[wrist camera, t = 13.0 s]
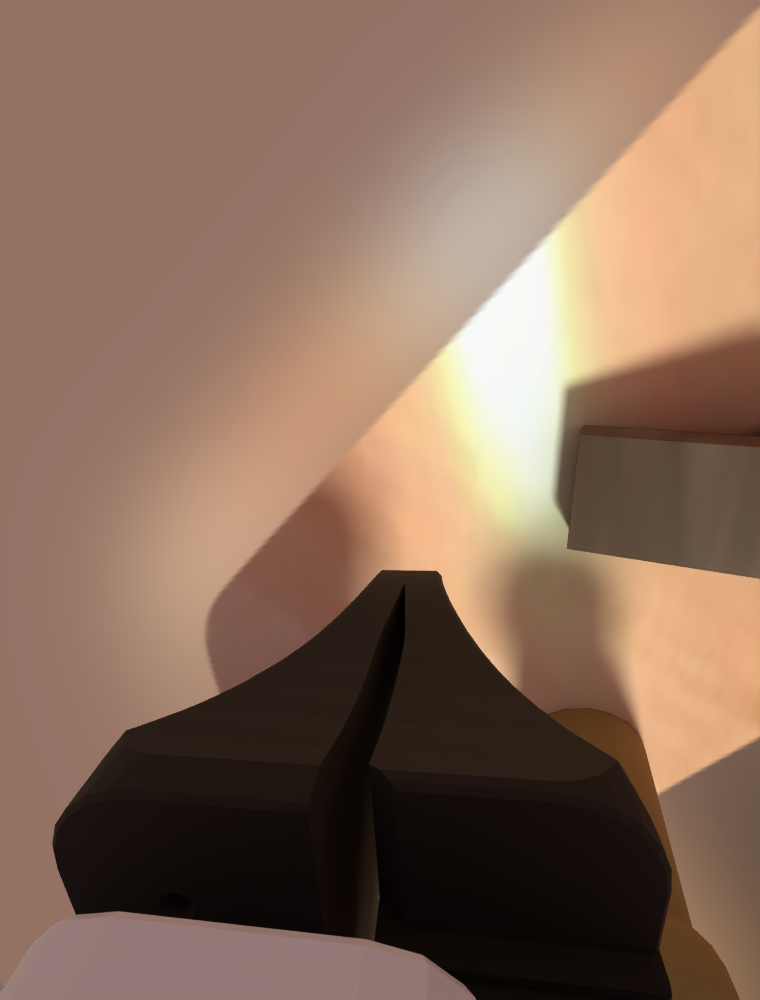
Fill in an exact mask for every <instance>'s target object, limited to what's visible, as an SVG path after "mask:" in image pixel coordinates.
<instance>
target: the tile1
mask: <svg viewBox="0 0 760 1000" xmlns="http://www.w3.org/2000/svg"><path fill="white" fill-rule="evenodd" d="M567 549H572V550H579V551H585V552H591V553H598V554H604V555H611V556H617V557H624V558H630V559H636V560H643V561H649V562H656V563H662V564H669V565H675V566H681V567H688V568H694V569H701V570H707V571H714V572H720V573H726V574H733V575H739V576H746V577H752V578H759V579H760V437H759V436H743V435H727V434H711V433H696V432H680V431H664V430H648V429H632V428H616V427H601V426H585V425H584V426H583V428H582V431H581V433H580V437H579V446H578V455H577V464H576V472H575V481H574V490H573V499H572V508H571V517H570V525H569V534H568V543H567Z"/></svg>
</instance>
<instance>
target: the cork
mask: <svg viewBox="0 0 760 1000" xmlns="http://www.w3.org/2000/svg"><path fill="white" fill-rule="evenodd" d="M548 715H549V716H550V717H551V718H553V719H554V720H555V721H557V722H558V723H559V724H561V725H562V726H563V727H565V728H566V729H568V730H569V731H571V732H572V733H574V734H576V735H577V736H579V737H581V738H582V739H584V740H585V741H587V742H589V743H590V744H592V745H593V746H595V747H597V748H598V749H600V750H602V751H603V752H605V753H606V754H608V755H610V756H611V757H613V758H615V759H616V760H617V761H618V762H619V763H620V764H621V766H622V768H623V769H624V771H625V773H626V774H627V776H628V778H629V779H630V781H631V783H632V784H633V786H634V788H635V790H636V791H637V793H638V795H639V797H640V799H641V800H642V802H643V804H644V806H645V808H646V810H647V811H648V813H649V815H650V817H651V819H652V821H653V823H654V825H655V827H656V830H657V832H658V834H659V836H660V839H661V841H662V844H663V846H664V849H665V852H666V855H667V859H668V861H669V864H670V866H671V869H672V892H671V897H670V902H669V906H668V911H667V915H666V920H665V924H664V929H663V933H662V938H661V943H660V947H659V950H660V953H661V956H662V959H663V962H664V966H665V969H666V972H667V975H668V978H669V981H670V984H671V990H672V999H671V1000H740V999H739V997H738V994H737V992H736V990H735V987H734V985H733V983H732V981H731V978H730V976H729V973H728V971H727V969H726V967H725V965H724V964H723V962H722V961H721V959H720V958H719V956H718V955H717V953H716V951H715V950H714V948H713V947H712V945H710V944H709V943H708V942H707V941H706V940H705V939H704V938H703V937H702V936H701V935H700V934H699V933H698V932H697V931H696V930H694V929H693V928H692V924H691V921H690V917H689V913H688V909H687V905H686V902H685V898H684V894H683V890H682V887H681V883H680V879H679V875H678V872H677V868H676V864H675V860H674V856H673V853H672V849H671V845H670V842H669V838H668V834H667V830H666V827H665V822H664V819H663V815H662V811H661V807H660V804H659V800H658V796H657V792H656V788H655V785H654V781H653V777H652V773H651V770H650V766H649V762H648V758H647V755H646V751H645V748H644V746H643V743H642V741H641V738H640V736H639V735H638V734H637V732H636V731H635V730H634V729H633V728H632V727H631V726H630V725H629V724H628V723H627V722H625V721H623V720H621V719H619V718H617V717H615V716H614V715H612V714H610V713H605V712H601V711H597V710H592V709H567V710H563V711H559V712H556V713H552V714H548Z"/></svg>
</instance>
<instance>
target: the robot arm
mask: <svg viewBox="0 0 760 1000" xmlns="http://www.w3.org/2000/svg"><path fill="white" fill-rule="evenodd" d="M52 844H53V850H54V854H55V859H56V863H57V867H58V871H59V873H60V876H61V878H62V881H63V883H64V886H65V888H66V891H67V893H68V896H69V898H70V901H71V903H72V906H73V908H74V911H75V914H76V915H73V916H71V917H68V918H65V919H62V920H59V921H58V922H57V923H56V924H55V925H53V926H52V927H51V928H50V929H49V930H48V931H46V932H45V933H44V934H43V935H42V936H41V937H39V938H38V939H37V940H36V941H35V942H34V943H33V944H32V946H31V947H30V949H29V950H28V952H27V953H26V955H25V956H24V958H23V959H22V961H21V962H20V964H19V966H18V967H17V968H16V970H15V972H14V973H13V975H12V976H11V978H10V979H9V981H8V982H7V984H6V985H5V984H0V1000H671V999H672V990H671V984H670V981H669V978H668V975H667V972H666V969H665V966H664V962H663V959H662V956H661V953H660V950H659V947H660V943H661V938H662V933H663V929H664V924H665V920H666V915H667V911H668V906H669V902H670V897H671V892H672V869H671V866H670V864H669V861H668V859H667V855H666V852H665V849H664V846H663V844H662V841H661V839H660V836H659V834H658V832H657V830H656V827H655V825H654V823H653V821H652V819H651V817H650V815H649V813H648V811H647V810H646V808H645V806H644V804H643V802H642V800H641V799H640V797H639V795H638V793H637V791H636V790H635V788H634V786H633V784H632V783H631V781H630V779H629V778H628V776H627V774H626V773H625V771H624V769H623V768H622V766H621V764H620V763H619V762H618V761H617V760H616V759H615V758H613V757H611V756H610V755H608V754H606V753H605V752H603V751H602V750H600V749H598V748H597V747H595V746H593V745H592V744H590V743H589V742H587V741H585V740H584V739H582V738H581V737H579V736H577V735H576V734H574V733H572V732H571V731H569V730H568V729H566V728H565V727H563V726H562V725H561V724H559V723H558V722H557V721H555V720H554V719H553V718H551V717H550V716H549V715H547V714H546V713H545V712H543V711H542V710H540V709H539V708H538V707H537V706H536V705H534V704H533V703H532V702H531V701H530V700H529V699H528V698H526V697H525V696H524V695H523V694H522V693H521V692H520V691H519V690H517V689H516V688H515V687H514V686H513V685H512V684H511V683H510V682H509V681H508V680H507V679H506V678H505V677H504V676H503V675H502V674H501V673H500V672H499V671H498V669H497V668H496V667H495V666H494V665H493V664H492V663H491V662H490V660H489V659H488V658H487V657H486V656H485V654H484V653H483V652H482V651H481V649H480V648H479V647H478V645H477V644H476V643H475V641H474V640H473V638H472V637H471V635H470V634H469V633H468V631H467V630H466V628H465V626H464V625H463V623H462V622H461V620H460V618H459V616H458V615H457V613H456V611H455V609H454V608H453V606H452V604H451V602H450V600H449V598H448V595H447V593H446V591H445V588H444V585H443V582H442V576H441V575H440V574H439V573H438V572H437V571H400V570H382V571H381V572H380V573H379V574H378V575H377V576H376V577H375V578H374V579H373V580H372V581H371V582H370V583H369V584H368V586H367V587H366V588H365V589H364V590H363V591H362V592H361V593H360V594H359V595H358V596H357V598H356V599H355V600H354V601H353V602H352V603H351V604H350V605H349V606H348V607H347V608H346V609H345V610H344V611H343V612H342V613H341V614H340V615H339V616H338V617H337V618H335V619H334V620H333V621H332V622H331V623H330V624H329V625H328V626H326V627H325V628H324V629H323V630H322V631H321V632H320V633H319V634H317V635H316V636H315V637H314V638H312V639H311V640H310V641H308V642H307V643H306V644H305V645H303V646H302V647H300V648H299V649H297V650H296V651H295V652H293V653H292V654H290V655H289V656H287V657H286V658H284V659H283V660H281V661H280V662H278V663H276V664H275V665H273V666H271V667H270V668H268V669H266V670H264V671H263V672H261V673H259V674H257V675H256V676H254V677H252V678H251V679H249V680H247V681H245V682H244V683H242V684H240V685H238V686H236V687H234V688H232V689H230V690H228V691H226V692H223V693H221V694H219V695H217V696H215V697H213V698H210V699H208V700H206V701H204V702H201V703H199V704H197V705H195V706H192V707H190V708H187V709H185V710H182V711H180V712H177V713H174V714H171V715H169V716H166V717H163V718H161V719H158V720H155V721H152V722H149V723H147V724H144V725H141V726H138V727H136V728H132V729H130V730H126V731H125V732H124V734H123V735H122V736H121V737H120V739H119V740H118V741H117V742H116V743H115V745H114V746H113V747H112V748H111V750H110V751H109V752H108V753H107V755H106V756H105V757H104V758H103V760H102V761H101V763H100V764H99V765H98V766H97V768H96V769H95V771H94V772H93V773H92V774H91V776H90V777H89V778H88V780H87V781H86V782H85V784H84V785H83V786H82V788H81V789H80V791H79V792H78V793H77V794H76V796H75V797H74V798H73V800H72V801H71V802H70V804H69V805H68V806H67V808H66V809H65V811H64V812H63V814H62V815H61V817H60V818H59V820H58V821H57V823H56V824H55V829H54V836H53V843H52Z"/></svg>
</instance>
